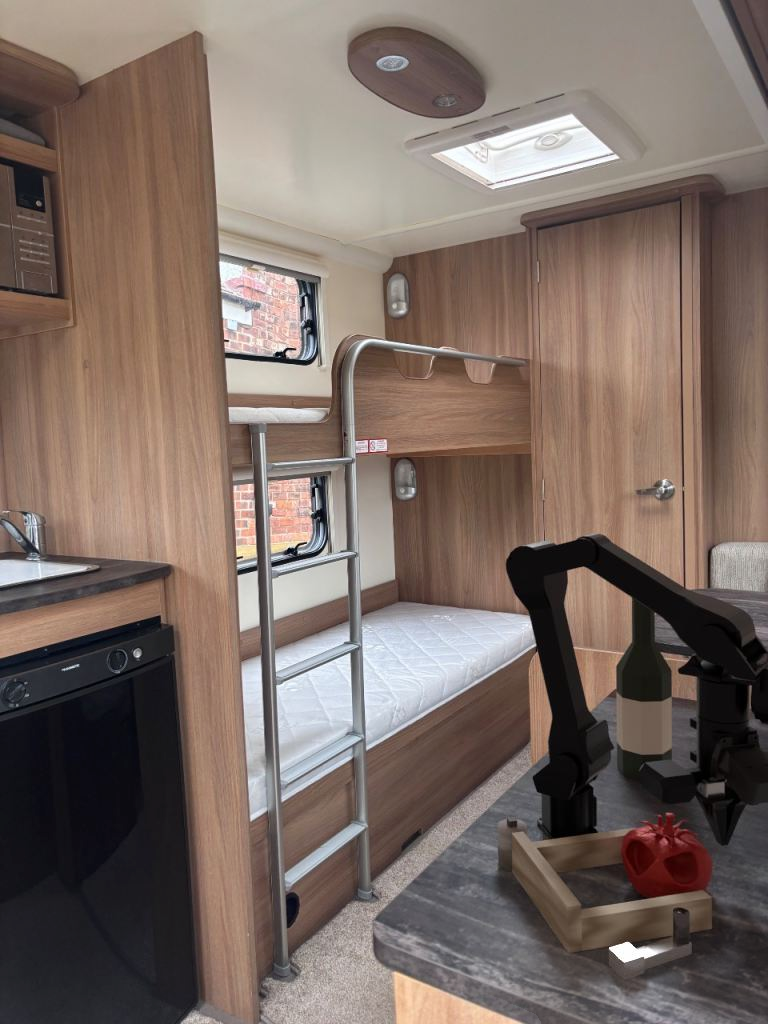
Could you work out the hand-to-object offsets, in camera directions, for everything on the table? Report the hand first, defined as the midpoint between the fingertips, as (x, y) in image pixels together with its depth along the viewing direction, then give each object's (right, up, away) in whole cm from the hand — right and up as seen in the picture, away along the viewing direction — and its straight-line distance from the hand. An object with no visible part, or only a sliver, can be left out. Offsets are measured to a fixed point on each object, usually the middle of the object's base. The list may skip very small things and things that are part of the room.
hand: (722, 844), depth 92 cm
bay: (-15, -5, -1) cm, 16 cm away
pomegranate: (-7, -5, -1) cm, 9 cm away
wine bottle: (+1, -2, +32) cm, 32 cm away
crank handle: (-13, -6, -13) cm, 19 cm away
